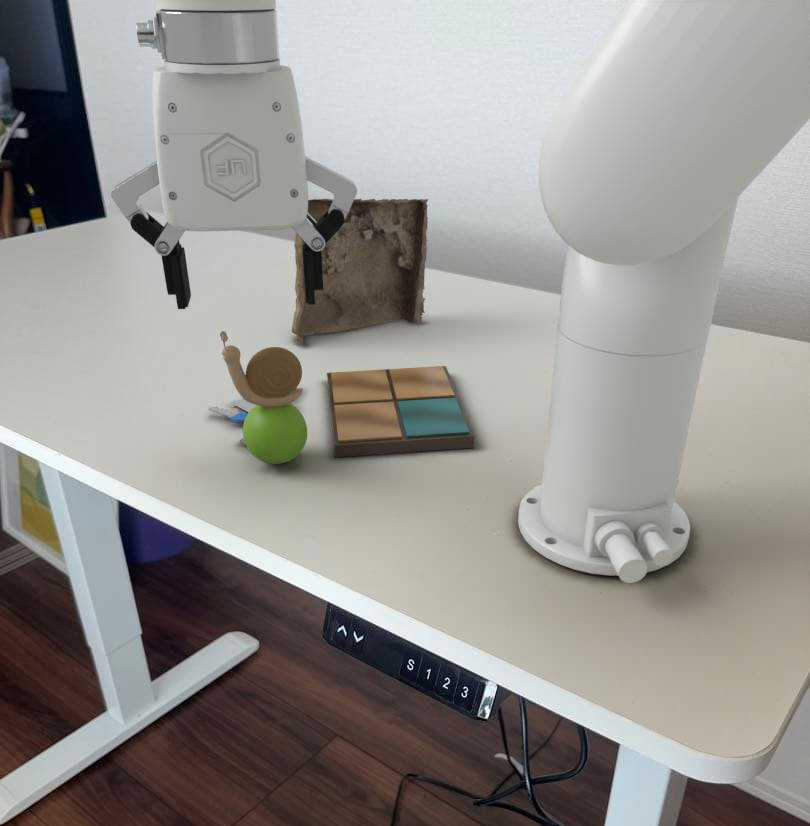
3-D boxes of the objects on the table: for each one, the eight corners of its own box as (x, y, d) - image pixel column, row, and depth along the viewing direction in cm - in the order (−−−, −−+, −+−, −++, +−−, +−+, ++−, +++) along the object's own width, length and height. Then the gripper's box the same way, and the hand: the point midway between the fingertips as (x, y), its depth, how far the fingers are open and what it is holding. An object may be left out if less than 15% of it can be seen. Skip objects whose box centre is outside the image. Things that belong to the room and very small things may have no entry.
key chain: (285, 454, 72) (284, 445, 72) (192, 455, 72) (190, 447, 71) (300, 388, 83) (299, 380, 83) (219, 389, 83) (218, 382, 83)
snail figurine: (230, 448, 72) (215, 319, 65) (301, 439, 74) (295, 312, 66) (239, 481, 68) (224, 348, 61) (314, 471, 70) (309, 340, 62)
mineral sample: (298, 347, 93) (286, 206, 85) (287, 335, 96) (274, 198, 88) (431, 324, 99) (431, 190, 90) (416, 314, 102) (416, 183, 93)
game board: (474, 448, 73) (474, 433, 72) (335, 457, 72) (334, 443, 71) (445, 376, 86) (445, 363, 85) (327, 383, 85) (326, 370, 84)
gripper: (72, 48, 50) (125, 322, 59) (356, 47, 51) (363, 314, 61) (95, 39, 56) (140, 289, 65) (349, 39, 57) (356, 282, 67)
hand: (248, 301), depth 63 cm, fingers open, 9 cm apart
